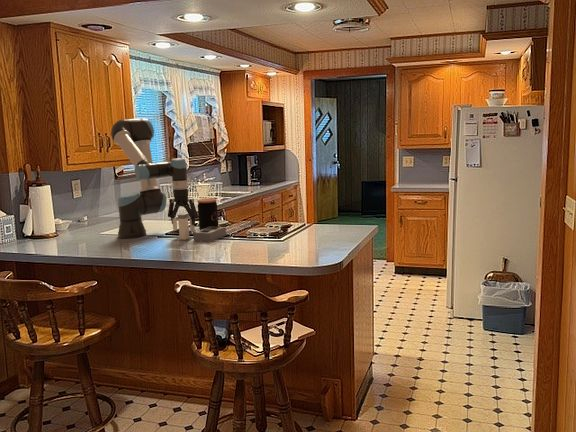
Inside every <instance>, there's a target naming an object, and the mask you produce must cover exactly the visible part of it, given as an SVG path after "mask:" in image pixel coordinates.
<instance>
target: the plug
mask: <svg viewBox="0 0 576 432" xmlns="http://www.w3.org/2000/svg"><path fill="white" fill-rule="evenodd" d="M188 215H189V214H188V213H180V214H178V215H177V224H178V235H179V237H180V239H182V240H186V239H189V237H190V225H189V216H188Z"/></svg>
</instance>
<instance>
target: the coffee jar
mask: <svg viewBox="0 0 576 432" xmlns="http://www.w3.org/2000/svg"><path fill="white" fill-rule="evenodd" d="M217 200H218V199H217V198H201V199H198V200H196V202H197V203H198V204H197V214H198V217H197V218H198V226H199V230H201V229H204V228H207V227H209V226H213V227H220V226H219V213H218V211H219V210H218V204H217Z"/></svg>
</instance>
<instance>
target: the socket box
mask: <svg viewBox="0 0 576 432" xmlns="http://www.w3.org/2000/svg"><path fill="white" fill-rule="evenodd" d="M192 234H193V236H192V237H194V239H193V241H194V242H206V243H211V242H213V241H217V240H219V239H221V238H223V237H225V236H227V227H226V226H219V227H213V226H209V227H207V228H204V229H201V230H200V229H199V230H196V231H192Z"/></svg>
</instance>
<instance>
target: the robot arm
mask: <svg viewBox="0 0 576 432" xmlns="http://www.w3.org/2000/svg"><path fill="white" fill-rule="evenodd" d="M154 129H155V128H154V126H153V124H152V122H151V121H150V120H149V119H147V118H141V117H140V118H139V117H138V118H127V119H125V118H123V119H119V120H117V121H116V122H114V123H113V125H112V126H111V130H110V136H111V139H112V141H113V143H114V144H115V145H116V146H119V147H120V148H121V150H122V151H123V153H124V155H125V156H126V157H127V158H128V160H129V161H130V162H131V164H132V165H133V167H134V171H133V172H134V176H135V178H136V179H138V180H140V187H141V189H140V190H139V192H137V191H135V192H128V193H125V194H121V195H120V196H119V197H118V198H117V206H118V214H119V227H118V232H117V236H118V238H120V239H135V238H139V237H144V236H146V235H147V230H146V229H145V226H144V223H143V219H142V218H143V217H142V216H146V215H151V214H152V215H153V214H157V213H158V214H159V213H162V212H163V211H164V210H165V209H166V206H167V196H166V194H165V192H164V191H161V188H160V187H159V186H158V183H157V178H166V177H168V178H169V177H171V179H172V188H173V190H172V193H173V194H172V195H173V197H174V198H173V197H172V198H169V199H168V201H169V202H168V204H169V205H168V212H167V217H168V218H170V219H171V220H170V221H171V224H172V230H173V231H174V232H175V231H179V228H178V217H177V216H176V215H177V213H178V211H179V208H180V207H182V208H184V209H185V211H186V212H187V214H188V215H189V216H188V217H190V218H189V231H190V232H191V233H193V232H196V231H195V228H196V227H195V225H196V218H199V217H198V210H197V208H196V204H195V199H194V198H189V189H188V187H189V185H188V177H187V176H188V173H187V172H188V171H187V164H186V159H185V158H178V157H177V158H171V160H170V161H162V162H157V163H156V162H155V163H153V157H152V151H151V146H150V144H151V143H152V140H153V138H154V136H155V130H154Z"/></svg>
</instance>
